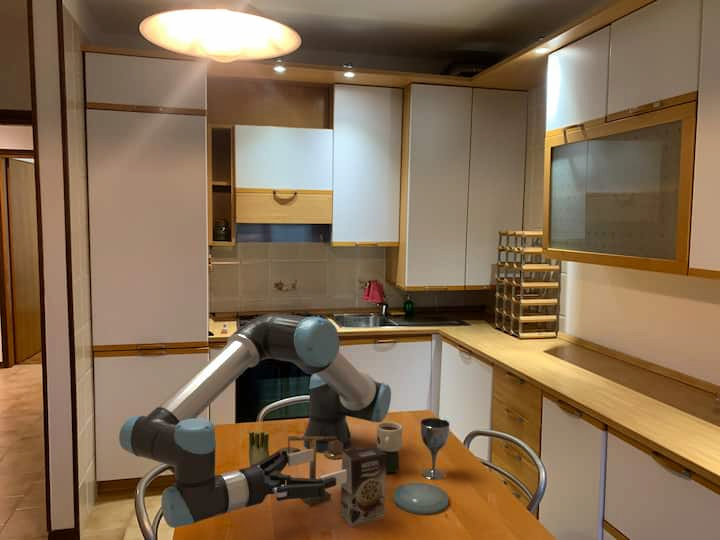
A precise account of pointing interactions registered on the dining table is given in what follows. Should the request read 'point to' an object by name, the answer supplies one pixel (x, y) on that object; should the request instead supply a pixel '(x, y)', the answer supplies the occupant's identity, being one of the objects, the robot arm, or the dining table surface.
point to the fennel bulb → (258, 447)
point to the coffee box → (363, 485)
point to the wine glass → (434, 442)
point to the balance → (332, 453)
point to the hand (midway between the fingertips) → (328, 464)
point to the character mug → (390, 443)
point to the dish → (421, 498)
